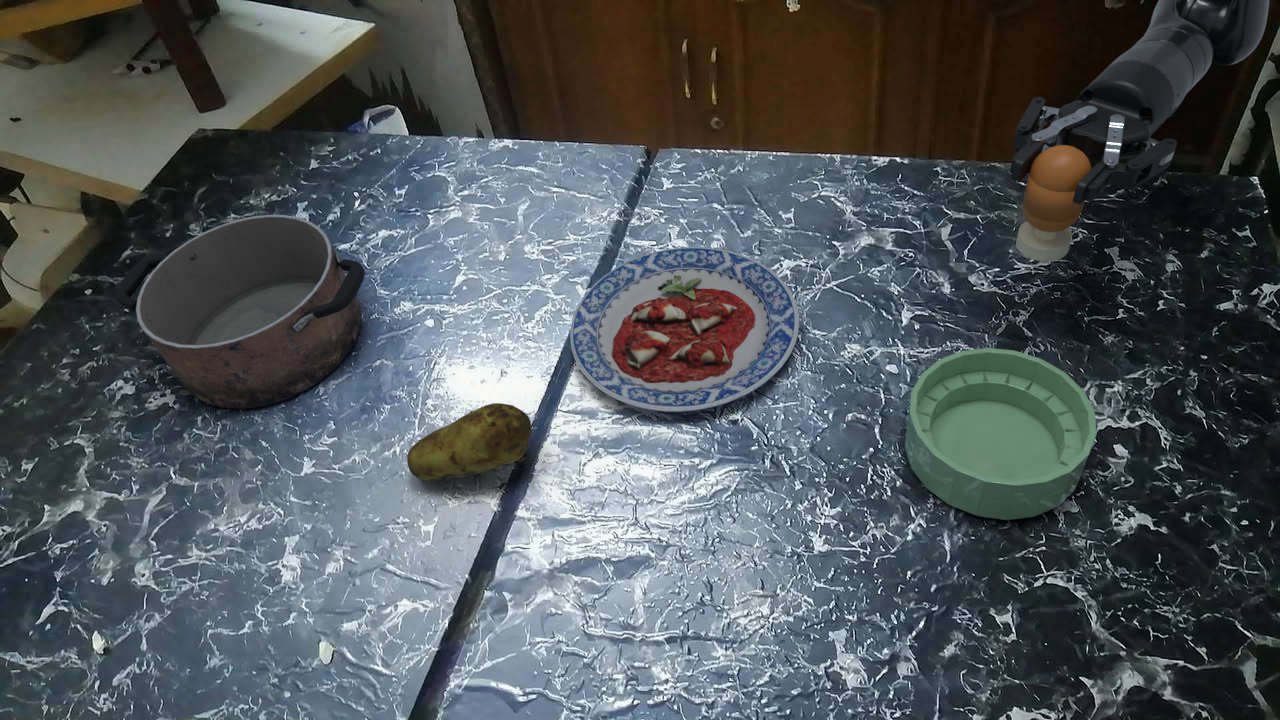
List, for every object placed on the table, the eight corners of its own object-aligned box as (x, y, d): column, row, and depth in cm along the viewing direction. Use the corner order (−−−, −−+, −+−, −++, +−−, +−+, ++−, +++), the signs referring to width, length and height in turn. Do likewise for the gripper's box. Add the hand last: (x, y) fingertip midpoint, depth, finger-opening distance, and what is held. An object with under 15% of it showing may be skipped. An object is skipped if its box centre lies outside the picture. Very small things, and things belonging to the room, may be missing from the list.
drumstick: (1059, 225, 92) (1084, 130, 84) (1079, 259, 88) (1107, 163, 80) (1006, 231, 92) (1026, 137, 84) (1024, 266, 88) (1046, 171, 80)
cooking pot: (416, 282, 118) (390, 216, 110) (351, 419, 103) (315, 353, 95) (208, 276, 124) (168, 213, 116) (118, 404, 109) (66, 341, 101)
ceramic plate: (777, 439, 94) (776, 421, 92) (542, 405, 101) (536, 387, 99) (815, 270, 110) (815, 251, 108) (610, 251, 117) (607, 233, 115)
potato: (439, 426, 101) (417, 378, 95) (549, 442, 98) (534, 393, 92) (407, 488, 96) (382, 441, 90) (523, 508, 92) (504, 460, 86)
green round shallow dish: (1044, 379, 95) (1057, 338, 91) (1109, 511, 84) (1126, 472, 80) (887, 398, 96) (891, 359, 92) (930, 532, 85) (937, 494, 81)
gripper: (1071, 39, 91) (979, 122, 83) (1225, 82, 83) (1139, 177, 76) (1055, 106, 96) (968, 189, 89) (1198, 152, 89) (1116, 247, 81)
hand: (1047, 183), depth 82 cm, fingers closed on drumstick, 5 cm apart
